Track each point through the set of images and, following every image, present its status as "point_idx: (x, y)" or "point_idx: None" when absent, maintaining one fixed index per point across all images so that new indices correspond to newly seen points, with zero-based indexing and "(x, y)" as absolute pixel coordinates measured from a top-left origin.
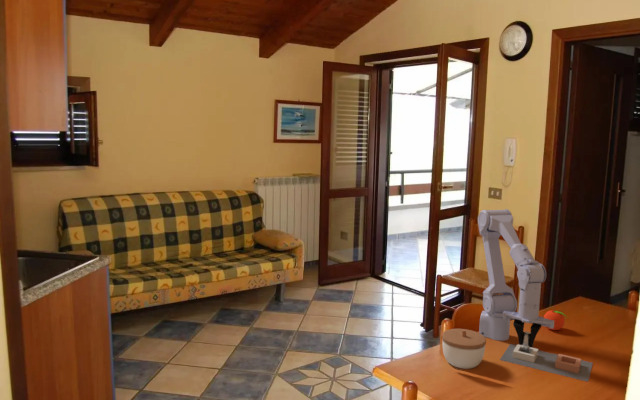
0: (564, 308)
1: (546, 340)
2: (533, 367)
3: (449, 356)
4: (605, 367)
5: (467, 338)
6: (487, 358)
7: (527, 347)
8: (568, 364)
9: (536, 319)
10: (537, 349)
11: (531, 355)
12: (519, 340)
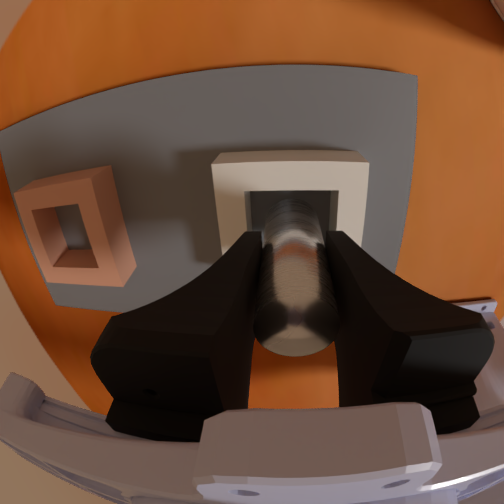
0: None
1: (252, 402)
2: (203, 81)
3: None
4: (42, 304)
5: None
6: (469, 108)
7: (276, 227)
8: (41, 186)
9: (131, 500)
10: None
11: (233, 166)
12: (350, 242)
